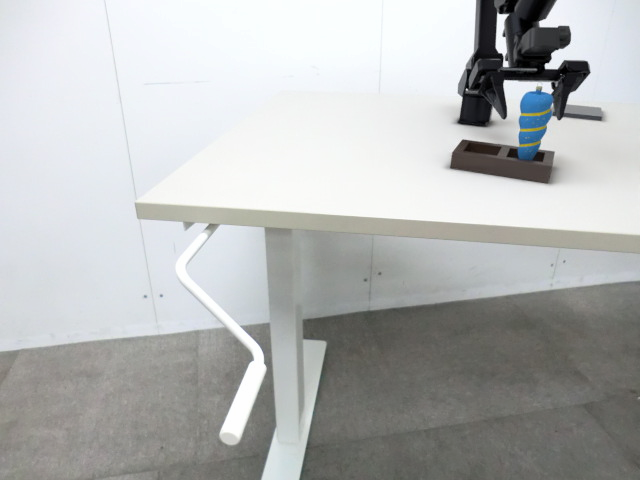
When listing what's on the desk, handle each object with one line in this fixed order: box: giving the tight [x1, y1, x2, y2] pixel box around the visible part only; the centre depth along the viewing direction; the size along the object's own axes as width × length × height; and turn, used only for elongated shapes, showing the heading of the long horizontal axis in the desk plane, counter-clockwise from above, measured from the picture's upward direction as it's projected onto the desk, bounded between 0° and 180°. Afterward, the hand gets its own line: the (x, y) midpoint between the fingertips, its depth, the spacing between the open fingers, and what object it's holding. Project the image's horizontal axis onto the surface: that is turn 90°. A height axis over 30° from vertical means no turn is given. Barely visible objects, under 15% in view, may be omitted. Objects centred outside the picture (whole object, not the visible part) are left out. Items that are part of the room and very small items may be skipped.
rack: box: [449, 138, 556, 184], centre depth 85 cm, size 9×16×3 cm, turn 64°
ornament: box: [517, 82, 553, 161], centre depth 81 cm, size 5×5×15 cm
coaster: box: [552, 103, 603, 122], centre depth 123 cm, size 11×11×1 cm
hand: (532, 118), depth 81 cm, fingers open, 9 cm apart
